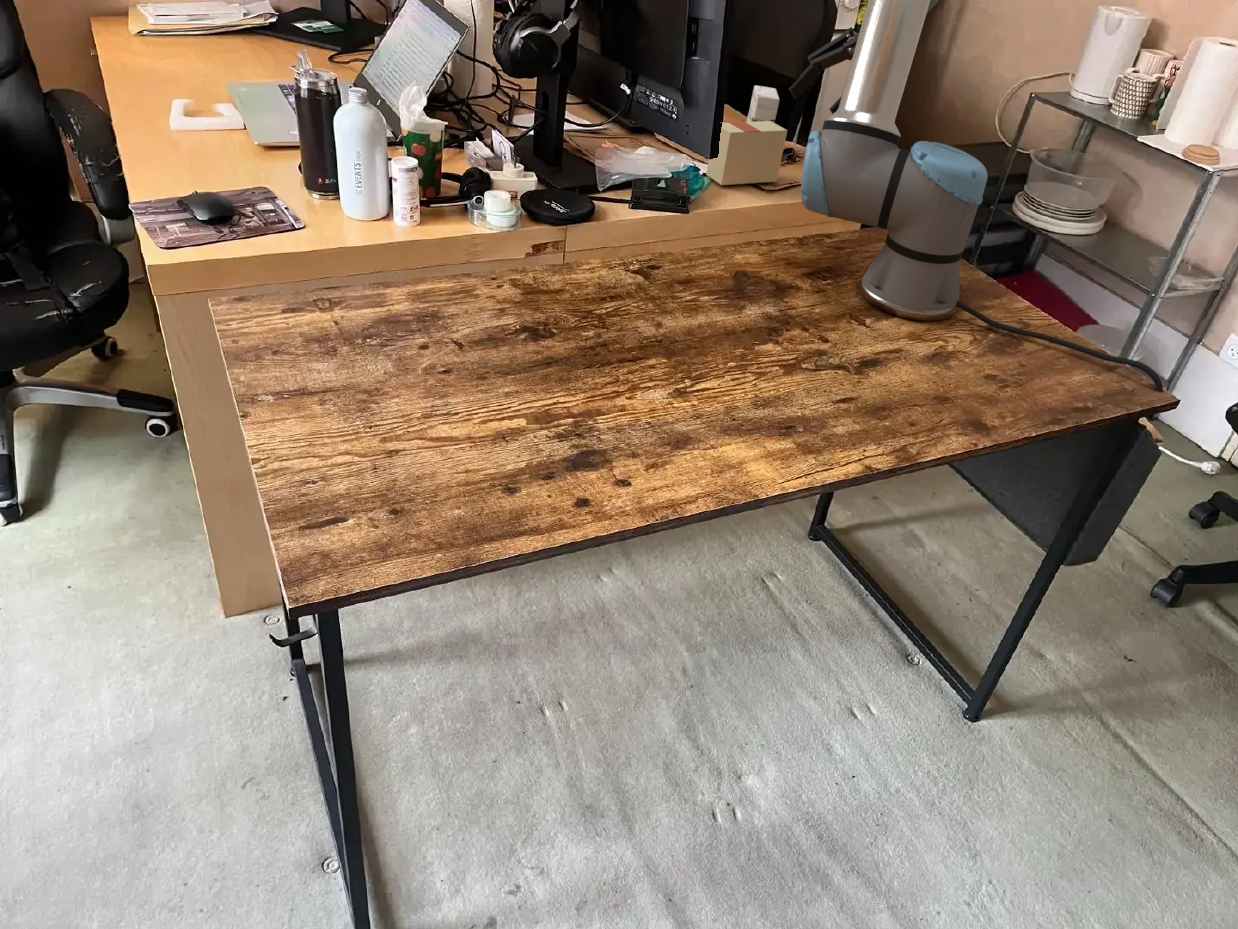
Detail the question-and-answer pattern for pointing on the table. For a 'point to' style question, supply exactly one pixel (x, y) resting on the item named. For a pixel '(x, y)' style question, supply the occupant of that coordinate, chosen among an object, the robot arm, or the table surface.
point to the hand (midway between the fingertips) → (812, 104)
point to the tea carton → (748, 153)
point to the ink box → (763, 104)
